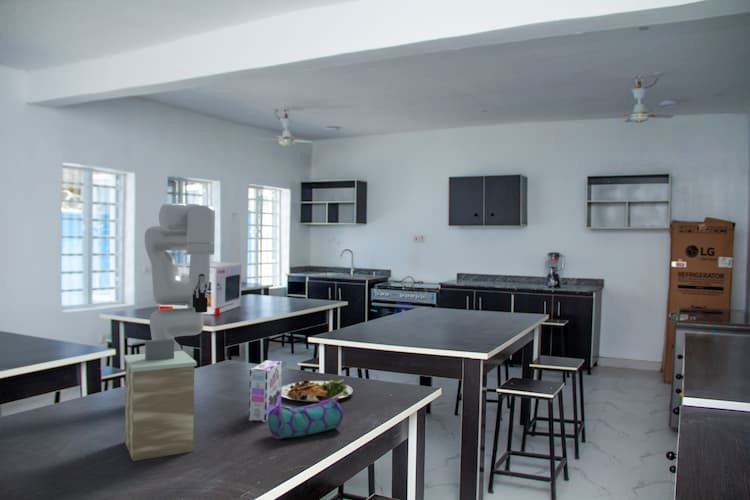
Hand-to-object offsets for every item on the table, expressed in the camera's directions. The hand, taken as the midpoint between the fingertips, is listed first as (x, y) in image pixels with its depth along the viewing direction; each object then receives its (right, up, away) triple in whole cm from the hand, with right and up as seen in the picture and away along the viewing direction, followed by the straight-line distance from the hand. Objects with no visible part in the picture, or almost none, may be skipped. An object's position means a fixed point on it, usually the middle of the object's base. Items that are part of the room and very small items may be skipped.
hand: (199, 309), depth 166 cm
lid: (-9, -14, -7) cm, 18 cm away
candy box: (+14, -36, +23) cm, 45 cm away
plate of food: (+28, -36, +48) cm, 66 cm away
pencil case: (+29, -37, +7) cm, 48 cm away
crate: (-9, -37, -6) cm, 38 cm away
